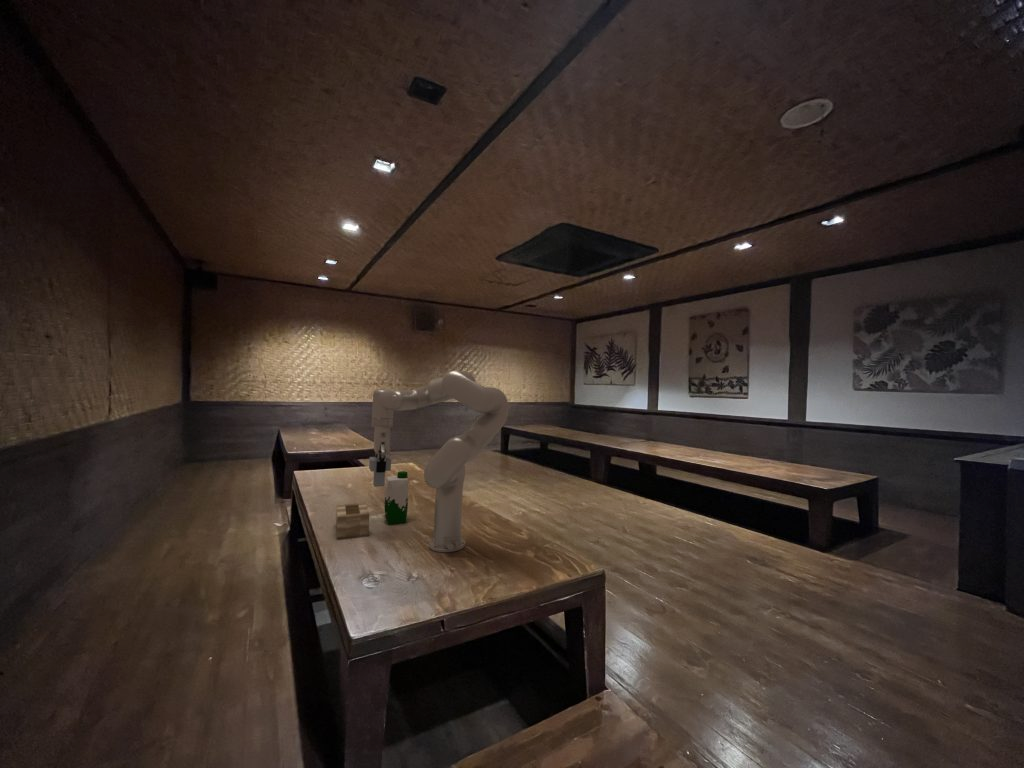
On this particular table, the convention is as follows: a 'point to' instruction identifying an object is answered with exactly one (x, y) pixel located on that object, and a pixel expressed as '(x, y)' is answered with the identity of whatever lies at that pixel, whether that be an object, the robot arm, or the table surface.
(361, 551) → the table surface
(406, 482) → the milk carton
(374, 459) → the t peg
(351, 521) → the slot rack
